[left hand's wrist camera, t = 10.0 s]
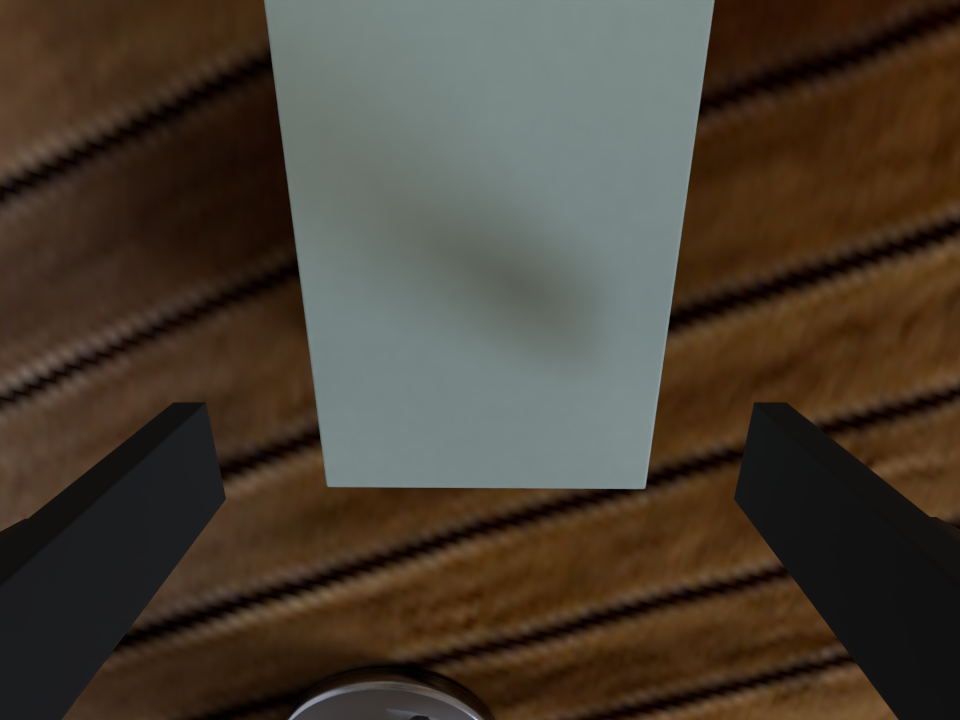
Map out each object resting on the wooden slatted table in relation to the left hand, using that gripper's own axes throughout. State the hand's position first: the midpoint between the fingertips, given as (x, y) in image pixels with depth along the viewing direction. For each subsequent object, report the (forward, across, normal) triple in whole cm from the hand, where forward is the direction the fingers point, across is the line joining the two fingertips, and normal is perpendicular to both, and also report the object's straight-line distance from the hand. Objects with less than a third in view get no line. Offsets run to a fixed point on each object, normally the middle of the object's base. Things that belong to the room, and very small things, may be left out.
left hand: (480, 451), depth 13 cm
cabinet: (+13, 0, -6) cm, 14 cm away
